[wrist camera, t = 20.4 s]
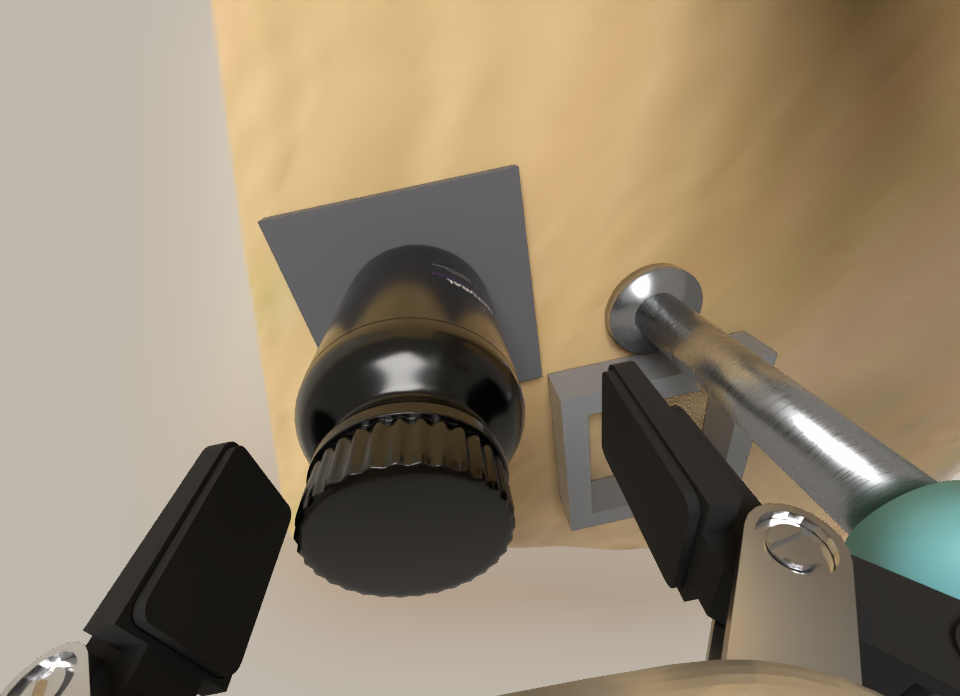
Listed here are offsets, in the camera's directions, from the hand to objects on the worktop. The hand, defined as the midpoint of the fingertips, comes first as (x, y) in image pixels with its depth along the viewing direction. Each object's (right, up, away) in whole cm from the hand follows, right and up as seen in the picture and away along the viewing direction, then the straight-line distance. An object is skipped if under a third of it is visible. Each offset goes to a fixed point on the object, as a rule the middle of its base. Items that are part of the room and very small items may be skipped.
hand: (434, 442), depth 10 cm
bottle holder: (+12, -3, +16) cm, 20 cm away
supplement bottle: (-2, +4, +9) cm, 10 cm away
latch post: (+11, +5, +11) cm, 16 cm away
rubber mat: (-2, +5, +9) cm, 10 cm away
